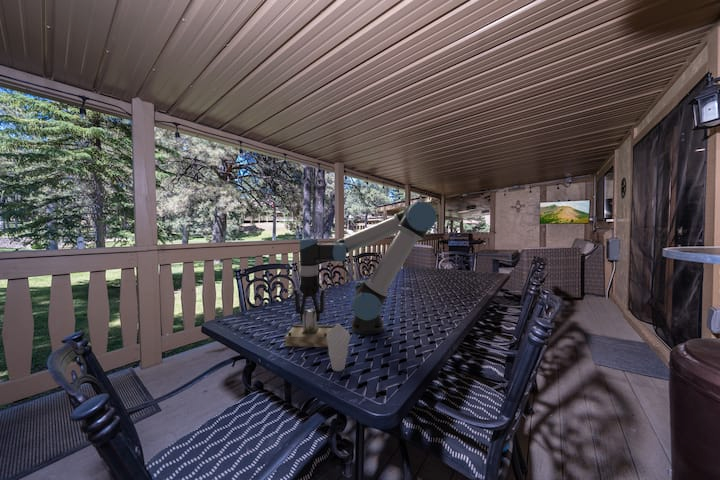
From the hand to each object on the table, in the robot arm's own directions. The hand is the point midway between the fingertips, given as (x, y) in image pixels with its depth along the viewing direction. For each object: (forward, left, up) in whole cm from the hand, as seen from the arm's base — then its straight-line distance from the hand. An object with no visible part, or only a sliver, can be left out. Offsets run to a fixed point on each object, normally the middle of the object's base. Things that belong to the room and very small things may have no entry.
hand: (310, 328), depth 116 cm
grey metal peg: (0, 0, -2) cm, 2 cm away
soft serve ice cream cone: (-15, +22, -5) cm, 27 cm away
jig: (0, 0, -5) cm, 5 cm away
